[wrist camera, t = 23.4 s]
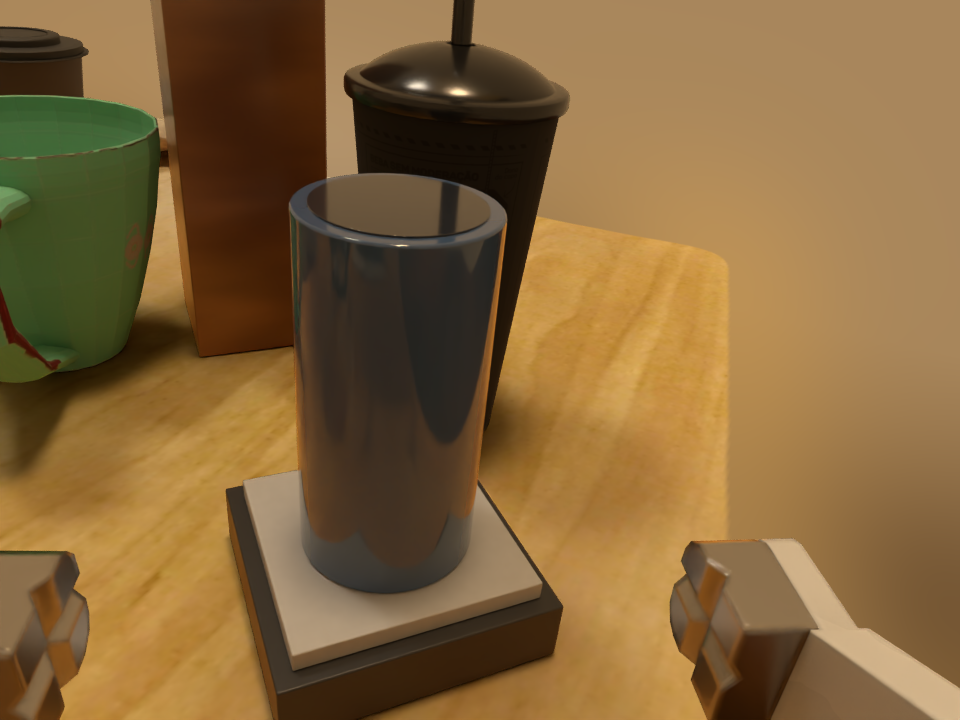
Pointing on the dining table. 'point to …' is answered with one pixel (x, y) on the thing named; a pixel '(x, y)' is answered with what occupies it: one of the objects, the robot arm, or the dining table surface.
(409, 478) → the tumbler
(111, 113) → the mug
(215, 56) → the stand
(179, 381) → the dining table surface
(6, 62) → the coffee cup
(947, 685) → the robot arm
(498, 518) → the scale
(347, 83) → the drinking cup
